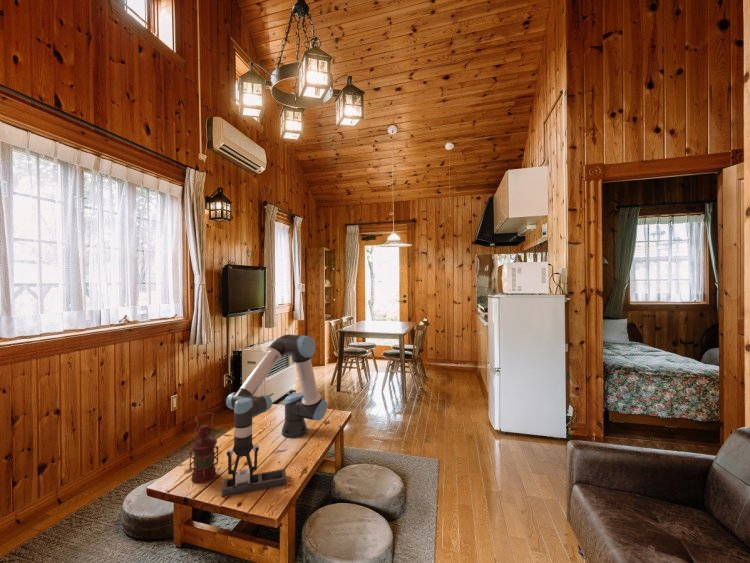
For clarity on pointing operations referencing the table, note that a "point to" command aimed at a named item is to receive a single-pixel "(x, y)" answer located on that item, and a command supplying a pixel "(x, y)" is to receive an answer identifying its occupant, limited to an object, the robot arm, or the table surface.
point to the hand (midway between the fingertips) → (242, 487)
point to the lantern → (203, 455)
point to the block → (242, 477)
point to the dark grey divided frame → (255, 486)
